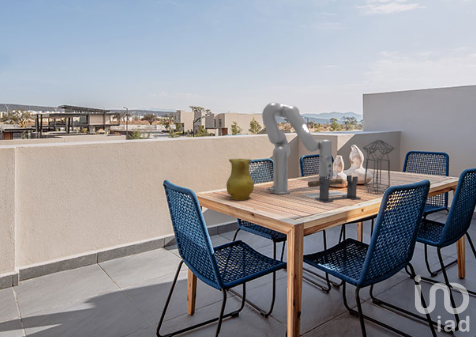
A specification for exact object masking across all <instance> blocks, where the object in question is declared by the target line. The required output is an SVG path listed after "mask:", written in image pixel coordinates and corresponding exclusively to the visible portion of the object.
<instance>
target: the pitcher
mask: <svg viewBox="0 0 476 337" xmlns="http://www.w3.org/2000/svg"><path fill="white" fill-rule="evenodd" d="M251 161H252V159H250V158H229V159H228V162H230V166H231V171H230V175H229V177H228V178H227V181H226V185H225V186H226V192H227V194H228V195H229V196H230V198H231V199H230V198H229V199H230V200H232V199H235V200H234V201H247V200H250V199H249V198H250V195H251V194H252V193H253V192H254V187H255V183H254V180H253V178H252V176H251V173H250V163H251ZM246 199H247V200H246Z"/></svg>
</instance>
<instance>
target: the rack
mask: <svg viewBox="0 0 476 337" xmlns="http://www.w3.org/2000/svg"><path fill="white" fill-rule="evenodd" d="M358 178H359V176H353V175H350V174H349V175H346V182H347V183H346V184H347V186H346V193H347V195H342V196H334V197H329V192H330V188H329V185H330V179H328V178H327V179H325V180H324V177H318V181H319V184H320V186H319V192H320V198H314V200H315V201H318V202H322V203H324V204H327V203H333V202H334V201H337V200H346V199H348V200H352V201H354V200H362V198H361V197H360V196H357V186H358V185H357V183H358V181H359V180H358ZM330 186H331V185H330Z"/></svg>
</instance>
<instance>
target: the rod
mask: <svg viewBox="0 0 476 337" xmlns="http://www.w3.org/2000/svg"><path fill="white" fill-rule="evenodd" d="M343 182H344V181H343V179H342V178H335V179H333V178H332V179H331V180H330V186H337V185H338V186H339V185H342V184H343ZM307 186H308V188H314V187H316V188H317V187H320V184H319V180H312V181H308V182H307Z"/></svg>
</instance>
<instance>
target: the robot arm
mask: <svg viewBox="0 0 476 337" xmlns="http://www.w3.org/2000/svg"><path fill="white" fill-rule="evenodd" d="M261 116H262V117H261V118H262V122H263V125H264V128H265V131H266V134H267V137H268V140H269V142H270V143H271V144H272V145H274V149H273V151H272V162H273V163H272V165H273V166H272V167H273V174H272V175H273V181H272V183H273V185H271V187H269V186H267V187H266V191H270V192H271V194H276V195H287V194H290V193H291V191H290V190H289V189H288V188H289V187H288V182H289V176H288V175H289V173H288V171H289V169H288V168H289V167H288V166H289V164H288V163H289V162H288V158H289V156H290V155H291V147H290V143H289V141H288V139H287V136H286V133H285V132H284V131H282V130H281V129H280V127H279V124H278V121H277V119H276V117H279V118H280V117H281V118H284V119H286V120H287V121H288V122H289V124H290V126H291V127H292V128H293V130H294V131H295V133H296V135H297V136H298V138H299V139H300V142H301V143H302V145H303V146H304V147H305V149H306V150H307V151H308V152H316V151H318V153H319V158H318V160H319V161H318V162H319V163H318V178H320V177H324V180H325V179H330V180H332V179H333V177H334V166H333V161H332V156H333V155H332V153H333V151H332V150H333V149H332V148H333V147H332V144H333V143H332V140H331V139H315V138H314V137H313V135H312V134H311V132H310V130H309V127H308V124H307V122H306V121H305V119H304V118H303V116H302V115H301V114H300V110H299V108H298V107H296V106H294V105H288V104H284V103H283V104H282V103H280V102H279V103H278V102H270V103H267V104H266V105H265V107H264V108H263V111H262V113H261ZM330 187H331V185H329V189H330Z"/></svg>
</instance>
